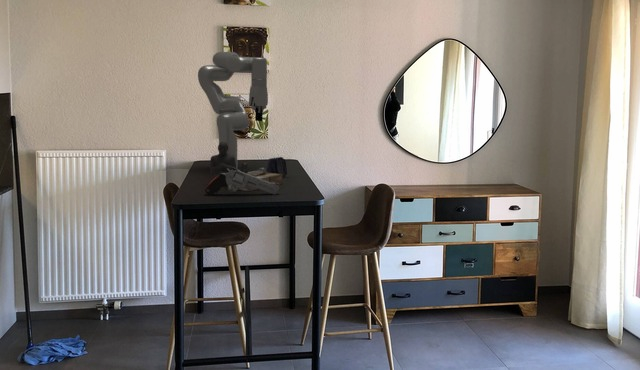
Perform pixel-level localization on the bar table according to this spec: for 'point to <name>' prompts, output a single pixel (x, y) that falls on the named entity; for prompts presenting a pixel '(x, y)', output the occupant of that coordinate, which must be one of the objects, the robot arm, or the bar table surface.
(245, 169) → the bar
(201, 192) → the bar table surface
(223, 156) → the figurine
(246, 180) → the revolver
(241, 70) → the robot arm
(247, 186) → the wooden latch block
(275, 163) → the rock
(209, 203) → the bar table surface
